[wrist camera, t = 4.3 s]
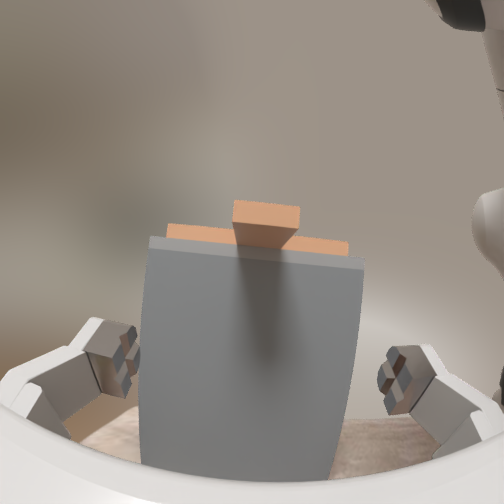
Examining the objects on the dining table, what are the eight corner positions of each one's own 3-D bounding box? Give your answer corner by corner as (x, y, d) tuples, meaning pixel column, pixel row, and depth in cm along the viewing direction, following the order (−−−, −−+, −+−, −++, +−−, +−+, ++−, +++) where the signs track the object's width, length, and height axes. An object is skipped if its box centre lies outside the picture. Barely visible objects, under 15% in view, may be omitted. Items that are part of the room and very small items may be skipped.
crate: (295, 439, 36) (318, 270, 39) (318, 506, 20) (364, 258, 23) (176, 428, 36) (188, 257, 39) (144, 490, 20) (150, 236, 23)
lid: (317, 269, 38) (318, 256, 38) (408, 242, 15) (407, 213, 15) (189, 256, 38) (191, 243, 38) (115, 212, 15) (121, 182, 15)
